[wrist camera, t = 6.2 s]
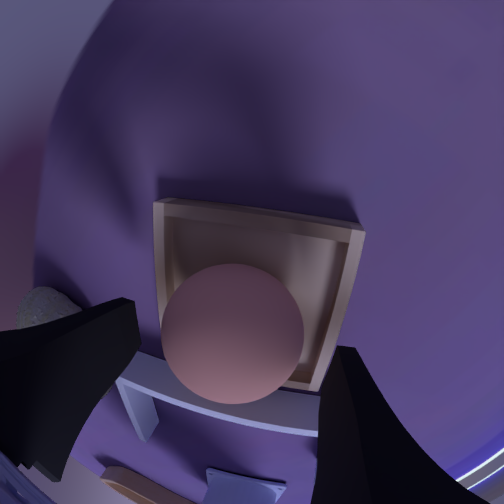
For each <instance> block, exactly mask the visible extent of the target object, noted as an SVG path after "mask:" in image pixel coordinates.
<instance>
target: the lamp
mask: <svg viewBox="0 0 504 504" xmlns="http://www.w3.org/2000/svg"><path fill="white" fill-rule="evenodd" d="M100 480H101V481H102V482H103V483H105V484H106V485H107V486H109V487H110V488H111V489H113V490H114V491H116V492H118V493H119V494H121V495H123V496H124V497H126V498H128V499H130V500H131V501H133V502H135V503H137V504H196V503H194V502H191V501H189V500H187V499H185V498H183V497H181V496H179V495H177V494H175V493H173V492H171V491H169V490H167V489H165V488H164V487H162V486H160V485H158V484H156V483H155V482H153V481H151V480H149V479H147V478H145V477H144V476H142V475H140V474H138V473H135V472H133V471H131V470H129V469H126V468H124V467H120V466H108V467H107V468H106V470H105V471H104V473H103V474H102V476H101V477H100Z"/></svg>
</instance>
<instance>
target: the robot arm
mask: <svg viewBox="0 0 504 504" xmlns="http://www.w3.org/2000/svg"><path fill="white" fill-rule="evenodd" d="M140 345H141V339H140V333H139V327H138V321H137V315H136V308H135V301H132V300H129V299H126V298H123V297H121V298H117V299H114V300H111V301H108V302H105V303H102V304H99V305H96V306H94V307H91V308H88V309H85V310H83V311H80V312H77V313H74V314H72V315H69V316H66V317H62V318H59V319H56V320H53V321H50V322H47V323H43V324H40V325H36V326H31V327H27V328H22V329H16V330H8V331H1V332H0V504H57V503H55V502H54V501H52V499H50V498H49V497H48V496H47V495H46V494H44V493H43V492H42V491H41V490H40V489H39V488H38V487H37V486H35V485H34V484H33V483H32V482H31V481H30V480H29V479H28V478H27V477H26V476H25V475H24V474H23V473H22V472H21V471H20V470H19V469H18V468H17V467H18V466H19V465H20V463H22V464H23V465H24V466H25V467H26V468H27V469H30V468H31V467H32V465H33V466H34V467H35V468H36V469H38V470H39V471H40V472H41V473H42V474H44V475H45V476H46V477H47V478H49V479H50V480H51V481H52V482H59V481H61V478H62V474H63V471H64V468H65V465H66V462H67V459H68V457H69V454H70V452H71V450H72V448H73V445H74V443H75V441H76V439H77V437H78V435H79V433H80V431H81V429H82V427H83V425H84V424H85V422H86V420H87V419H88V417H89V415H90V414H91V412H92V410H93V409H94V407H95V406H96V405H97V403H98V402H99V401H100V399H101V398H102V397H103V396H104V394H105V393H106V392H107V391H108V390H109V388H110V387H111V386H112V385H113V383H114V382H115V381H116V380H117V379H118V377H119V376H120V375H121V374H122V372H123V371H124V370H125V369H126V367H127V366H128V365H129V364H130V362H131V360H132V359H133V357H134V356H135V354H136V352H137V350H138V349H139V347H140ZM206 475H207V482H208V490H207V492H206V495H205V497H204V500H203V502H202V504H275V503H276V501H277V500H278V499H279V497H280V496H281V495H282V493H283V492H284V491H285V489H286V487H287V485H286V484H284V483H277V482H271V481H265V480H259V479H254V478H249V477H244V476H240V475H235V474H231V473H227V472H223V471H220V470H216V469H213V468H207V469H206ZM17 491H18V492H19V493H21V495H22V496H23V497H22V496H21V495H19V494H18V493H17ZM311 504H490V503H488V502H487V501H485V500H483V499H482V498H480V497H479V496H477V495H475V494H474V493H472V492H471V491H469V490H467V489H466V488H465V487H463V486H462V485H461V484H459V483H458V482H457V481H456V480H454V479H453V478H452V477H451V476H449V475H448V474H447V473H446V472H445V471H444V470H443V469H442V468H440V467H439V466H438V465H437V464H436V463H435V462H434V461H433V460H432V459H431V458H430V457H429V456H428V455H427V454H426V453H425V451H424V450H423V449H422V448H421V447H420V446H419V445H418V444H417V442H416V441H415V440H414V439H413V438H412V436H411V435H410V434H409V433H408V431H407V430H406V429H405V428H404V426H403V425H402V424H401V422H400V421H399V420H398V418H397V417H396V415H395V414H394V412H393V411H392V409H391V408H390V406H389V405H388V403H387V402H386V400H385V398H384V397H383V395H382V393H381V392H380V390H379V389H378V387H377V385H376V384H375V382H374V380H373V378H372V377H371V375H370V373H369V371H368V370H367V368H366V366H365V364H364V362H363V360H362V359H361V357H360V355H359V353H358V352H357V350H356V348H354V347H346V346H338V345H337V347H336V350H335V353H334V356H333V359H332V361H331V364H330V367H329V369H328V372H327V375H326V377H325V380H324V382H323V385H322V388H321V396H320V404H319V412H318V451H317V470H316V479H315V485H314V490H313V495H312V500H311Z"/></svg>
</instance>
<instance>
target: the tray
mask: <svg viewBox="0 0 504 504" xmlns="http://www.w3.org/2000/svg"><path fill="white" fill-rule="evenodd" d="M153 231H154V257H155V274H156V288H157V299H158V310H159V319H160V328H161V323H162V318H163V314H164V311H165V308H166V306H167V304H168V302H169V300H170V298H171V296H172V295H173V293H174V292H175V291H176V290H177V288H178V287H179V286H180V285H181V284H182V283H183V282H184V281H185V280H186V279H188V278H189V277H190V276H192V275H193V274H195V273H197V272H199V271H201V270H203V269H205V268H208V267H211V266H215V265H221V264H244V265H248V266H252V267H255V268H258V269H261V270H263V271H265V272H267V273H269V274H270V275H272V276H273V277H275V278H276V279H277V280H279V281H280V282H281V283H282V284H283V285H284V286H285V287H286V288H287V289H288V291H289V292H290V293H291V295H292V296H293V298H294V299H295V301H296V303H297V305H298V307H299V310H300V313H301V316H302V319H303V325H304V344H303V349H302V354H301V357H300V359H299V362H298V364H297V366H296V368H295V370H294V371H293V373H292V374H291V376H290V377H289V378H288V379H287V381H286V382H285V383H284V384H283V385H282V386H283V387H289V388H295V389H302V390H309V391H316V392H318V390H319V388H320V385H321V383H322V380H323V377H324V375H325V372H326V369H327V367H328V364H329V361H330V358H331V356H332V353H333V350H334V347H335V344H336V341H337V338H338V335H339V332H340V329H341V326H342V322H343V319H344V316H345V313H346V309H347V306H348V302H349V299H350V295H351V292H352V288H353V284H354V280H355V276H356V273H357V269H358V264H359V260H360V256H361V252H362V247H363V243H364V238H365V233H366V231H365V230H364V228H363V227H362V225H361V224H360V223H355V222H349V221H343V220H338V219H332V218H326V217H320V216H314V215H307V214H301V213H294V212H287V211H281V210H274V209H266V208H259V207H251V206H244V205H236V204H228V203H219V202H210V201H201V200H192V199H182V198H171V197H167V198H164V199H161V200H158V201H155V202H153ZM164 356H165V355H164Z"/></svg>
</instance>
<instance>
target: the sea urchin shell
mask: <svg viewBox="0 0 504 504" xmlns="http://www.w3.org/2000/svg"><path fill="white" fill-rule="evenodd" d="M80 311H83V310H82V309H81V307H79V306H77V305H75V304H74V303H73V302H72V301H71V300H70V299H69V298H68V297H67V296H66V295H64V294H63V293H60V292H58V291H56V290H55V289H54V288H51V287H46V286H45V287H44V286H43V287H40V286H39V287H36V288H34V289H32V290H31V291H29V293H28V294H27V295H26V296H25V297H24V299H23V300H22V301H21V303H20V306H19V307H18V312H17V320H16V322H17V324H16V326H17V329H22V328H27V327H31V326H36V325H40V324H43V323H47V322H50V321H53V320H56V319H59V318H62V317H66V316H69V315H72V314H74V313H77V312H80ZM110 389H112V386H111V387H110V388H109V390H108V391H107V392H106V393H105V394H104V396H105V395H107V393H108V392H110ZM104 396H103V397H104ZM103 397H102V398H103ZM102 398H101V399H102Z"/></svg>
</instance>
